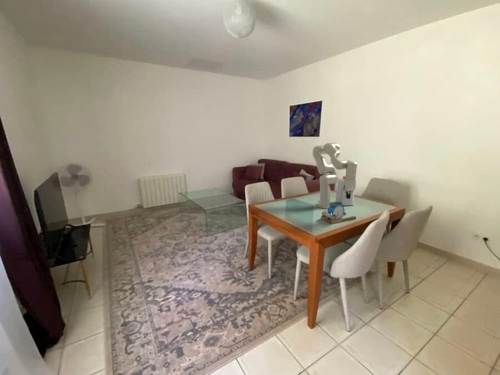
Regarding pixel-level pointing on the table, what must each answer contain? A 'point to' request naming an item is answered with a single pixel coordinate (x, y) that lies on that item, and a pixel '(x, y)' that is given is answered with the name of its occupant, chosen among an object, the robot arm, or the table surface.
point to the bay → (345, 219)
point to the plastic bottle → (343, 194)
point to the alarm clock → (336, 209)
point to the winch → (328, 217)
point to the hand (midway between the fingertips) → (348, 198)
